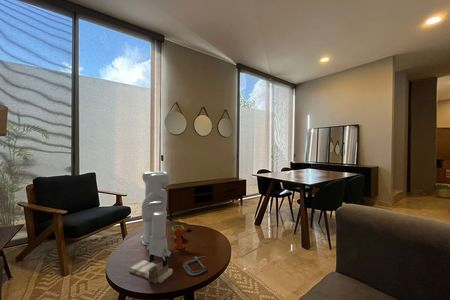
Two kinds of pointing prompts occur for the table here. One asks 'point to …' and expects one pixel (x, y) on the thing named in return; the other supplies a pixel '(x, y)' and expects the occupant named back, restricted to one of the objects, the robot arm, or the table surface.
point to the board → (145, 266)
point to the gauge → (157, 272)
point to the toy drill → (181, 237)
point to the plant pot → (176, 228)
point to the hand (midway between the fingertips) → (158, 263)
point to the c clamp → (189, 271)
